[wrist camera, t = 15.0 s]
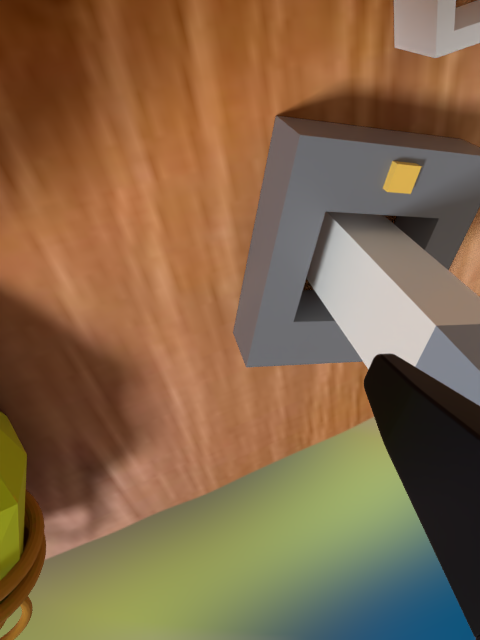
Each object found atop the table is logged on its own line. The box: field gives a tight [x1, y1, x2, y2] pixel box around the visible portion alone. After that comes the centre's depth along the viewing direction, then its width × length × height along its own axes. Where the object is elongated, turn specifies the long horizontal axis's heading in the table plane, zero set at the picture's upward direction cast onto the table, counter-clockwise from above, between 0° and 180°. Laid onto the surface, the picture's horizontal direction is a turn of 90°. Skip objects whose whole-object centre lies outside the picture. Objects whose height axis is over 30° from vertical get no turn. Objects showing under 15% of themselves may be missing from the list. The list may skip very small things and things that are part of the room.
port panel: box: [233, 116, 480, 367], centre depth 23 cm, size 10×12×3 cm
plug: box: [306, 212, 480, 406], centre depth 19 cm, size 3×4×13 cm
